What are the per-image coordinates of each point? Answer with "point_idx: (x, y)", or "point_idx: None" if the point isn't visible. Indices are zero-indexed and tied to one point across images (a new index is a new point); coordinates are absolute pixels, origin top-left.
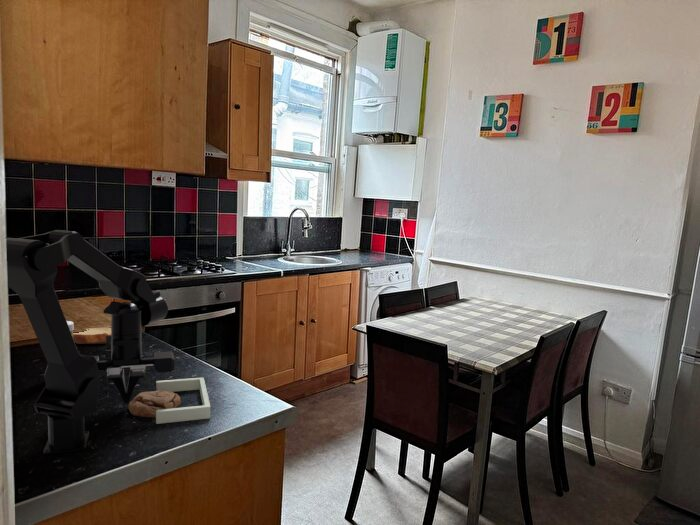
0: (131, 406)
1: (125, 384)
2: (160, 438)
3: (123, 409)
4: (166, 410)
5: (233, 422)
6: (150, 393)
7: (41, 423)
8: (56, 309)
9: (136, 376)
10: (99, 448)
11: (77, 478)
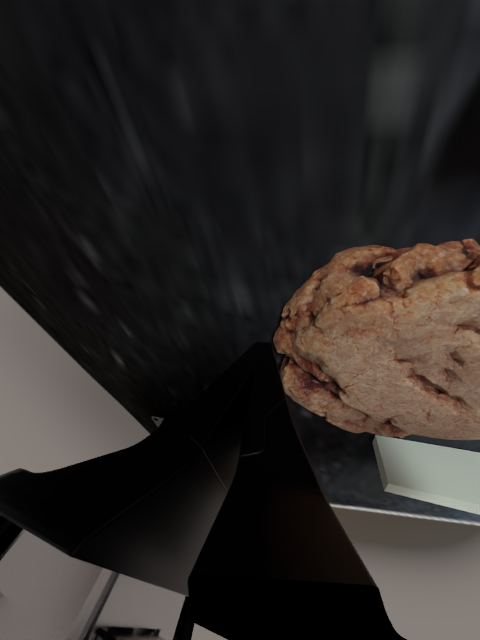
0: (291, 396)
1: (230, 407)
2: (369, 484)
3: (258, 331)
4: (431, 500)
5: None
6: (407, 344)
7: (95, 354)
8: None
9: None
10: None
11: None
